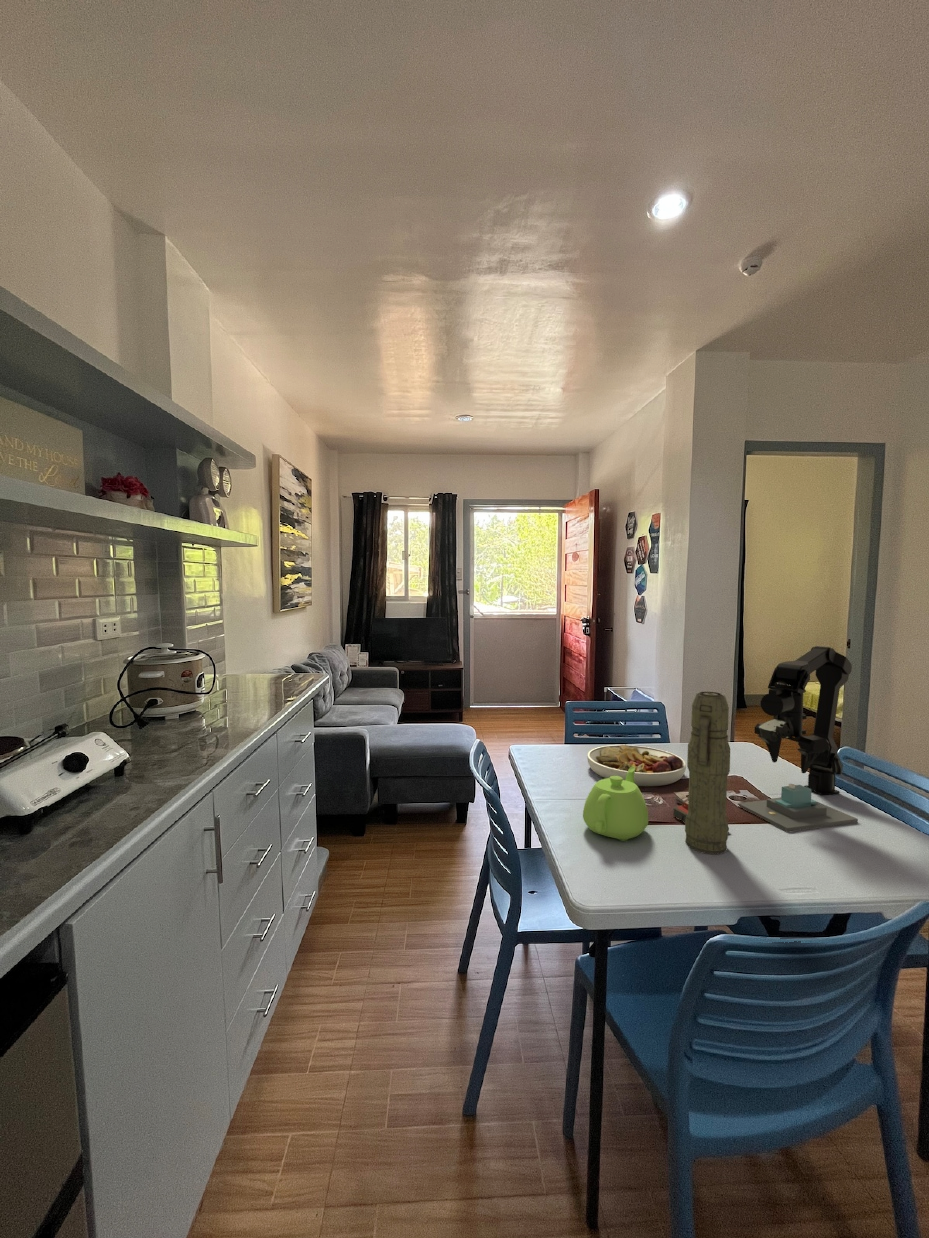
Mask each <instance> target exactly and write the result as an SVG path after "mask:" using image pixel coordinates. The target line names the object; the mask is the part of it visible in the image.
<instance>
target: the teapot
mask: <svg viewBox="0 0 929 1238" xmlns="http://www.w3.org/2000/svg"><path fill="white" fill-rule="evenodd" d="M634 773H635V767H630V768H629V770H628V773H627V776H626V779H625V780H623V778H622V777H620V776H611V777H610V778H602V779H599V780H598V781H597V782H595V783H594V785H593V786H592V788H591V790H590V791H589V792H588V795H587V797H586V800H585V802H584V806H583V811H582V812H583V813H582V819H583V821H584V823H585V825H586V826H587V827H588V829H589V830H591V832H593V833H595V834H599V835H601V836H604V837H609V838H612V839H617V840H618V841H623V842H627V841H628V840H629V839H633V838H635V837H638V836H639V835H640V834H642V833H643V832H644V830H646V828H647V827H648V825H649V821H650V820H649V811H648V810H649V809H648V806H647V803H646V800H645V799H644V796H643V793H642V792H641V790H640V788H639V786H637V785H636V784H635V783H634Z"/></svg>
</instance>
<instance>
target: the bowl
mask: <svg viewBox="0 0 929 1238" xmlns="http://www.w3.org/2000/svg"><path fill="white" fill-rule="evenodd" d="M586 757H587V763H588V766H589V767H590V769H591V770H592V771H593V772H594V773H595V774H596V775H598V776H600V778H601V777H602V779H606V778H610V777H611V776H620V777H622V778H623V780H625V779H626V776H627V773H628V770H629V768H630V767H635V773H634V783H635V784H636V785H637V786H638V787H659V786H667V785H670V784H673V783H676V782H677V781H680V779H682V778H683V776H684V775H685V773H686V769H687V761H686V760H685V759H683V758H682V757H681V756H679V755H677V754H675V753H672V752H670V751H666V750H663V749H659V748H655V747H651V746H650V747H648V746H640V745H632V744H614V745H613V744H612V745H603V746H599V747H596V748H595V747H594V748H592V749H591V750H589V751H588V752H587V756H586Z"/></svg>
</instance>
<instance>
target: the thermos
mask: <svg viewBox="0 0 929 1238" xmlns="http://www.w3.org/2000/svg"><path fill="white" fill-rule="evenodd" d="M729 709H730V707H729V703H728V701H727V697H726V696H725V695H724V694H722V693H720V692H716V691H699V692H697V693H695V696H694V699H693V700H692V704H691V724H690V727H691V731H690V739H689V741H688V743H687V761H686V768H687V769H688V772H689V773H688V798H687V799H688V801H687V802H688V814H687V816H686V818H685V823H684V832H685V844H686V846H687V847H688V848H690V849H691V850H694V851H695V852H699V853H701V852H703V853H702V854H706V855H721V853H722V854H725V852H727V850H728V849H727V847H728V846H727V841H728V838H729V831H728V827H729V821H728V817H727V791H728V790H727V789H728V776H729V774H730V771H731V770H730V767H731V746H730V744H729V739H728V738H729V736H728V731H729V712H730V711H729ZM726 849H727V850H726Z"/></svg>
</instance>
